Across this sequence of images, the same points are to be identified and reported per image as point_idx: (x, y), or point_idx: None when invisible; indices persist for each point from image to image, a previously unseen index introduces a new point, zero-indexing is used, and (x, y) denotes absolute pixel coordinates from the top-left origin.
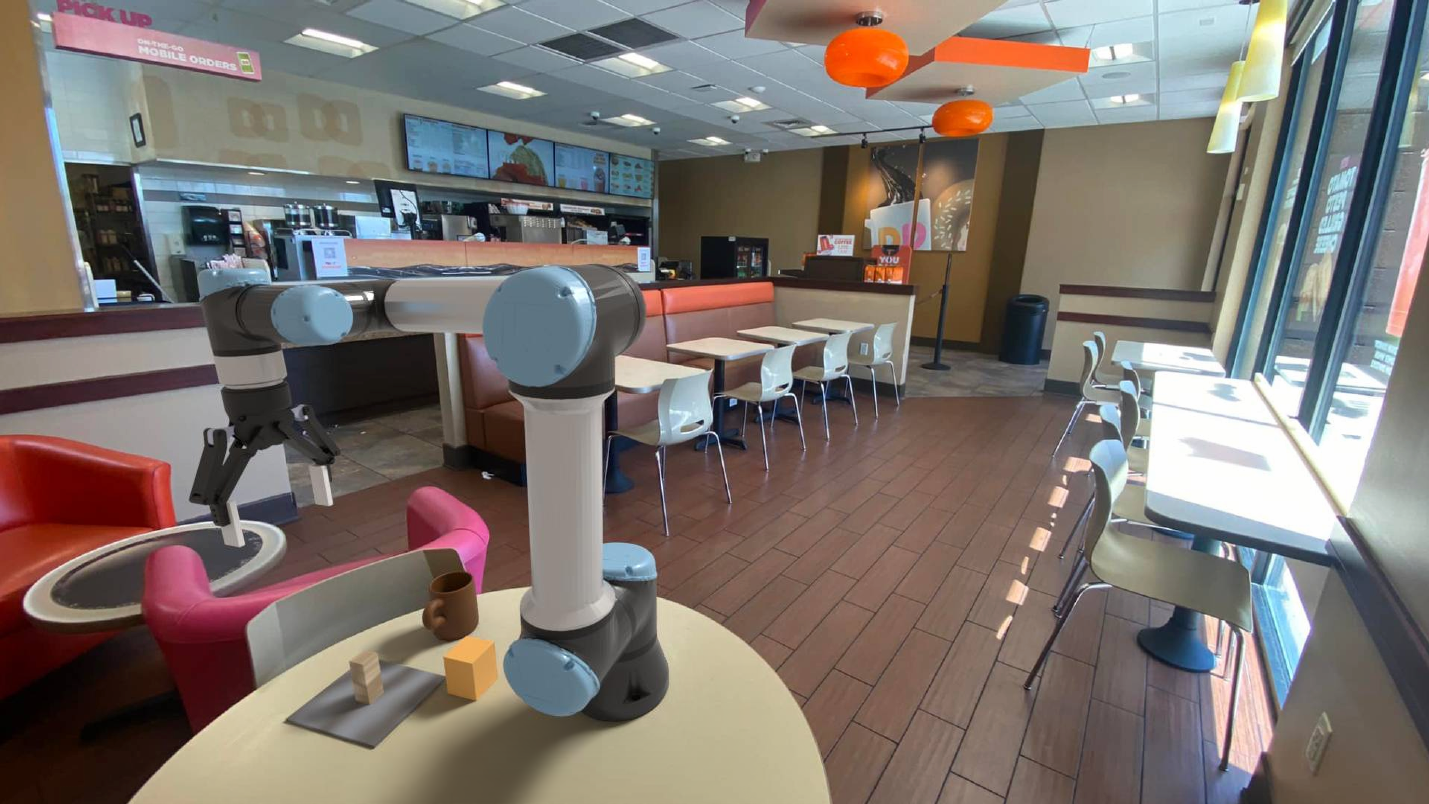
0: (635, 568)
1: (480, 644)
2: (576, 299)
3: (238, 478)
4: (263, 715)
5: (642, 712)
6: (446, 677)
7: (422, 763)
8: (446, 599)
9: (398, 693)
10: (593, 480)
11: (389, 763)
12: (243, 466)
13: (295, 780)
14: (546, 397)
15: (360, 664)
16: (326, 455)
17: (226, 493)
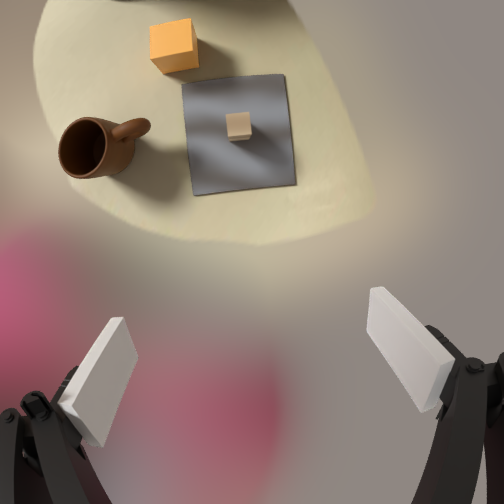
0: None
1: (158, 34)
2: None
3: (454, 434)
4: (297, 213)
5: None
6: (196, 59)
7: (276, 29)
8: (108, 127)
9: (222, 107)
10: None
11: (288, 51)
12: (448, 482)
13: (334, 110)
14: None
15: (249, 116)
16: (35, 431)
17: (472, 384)
